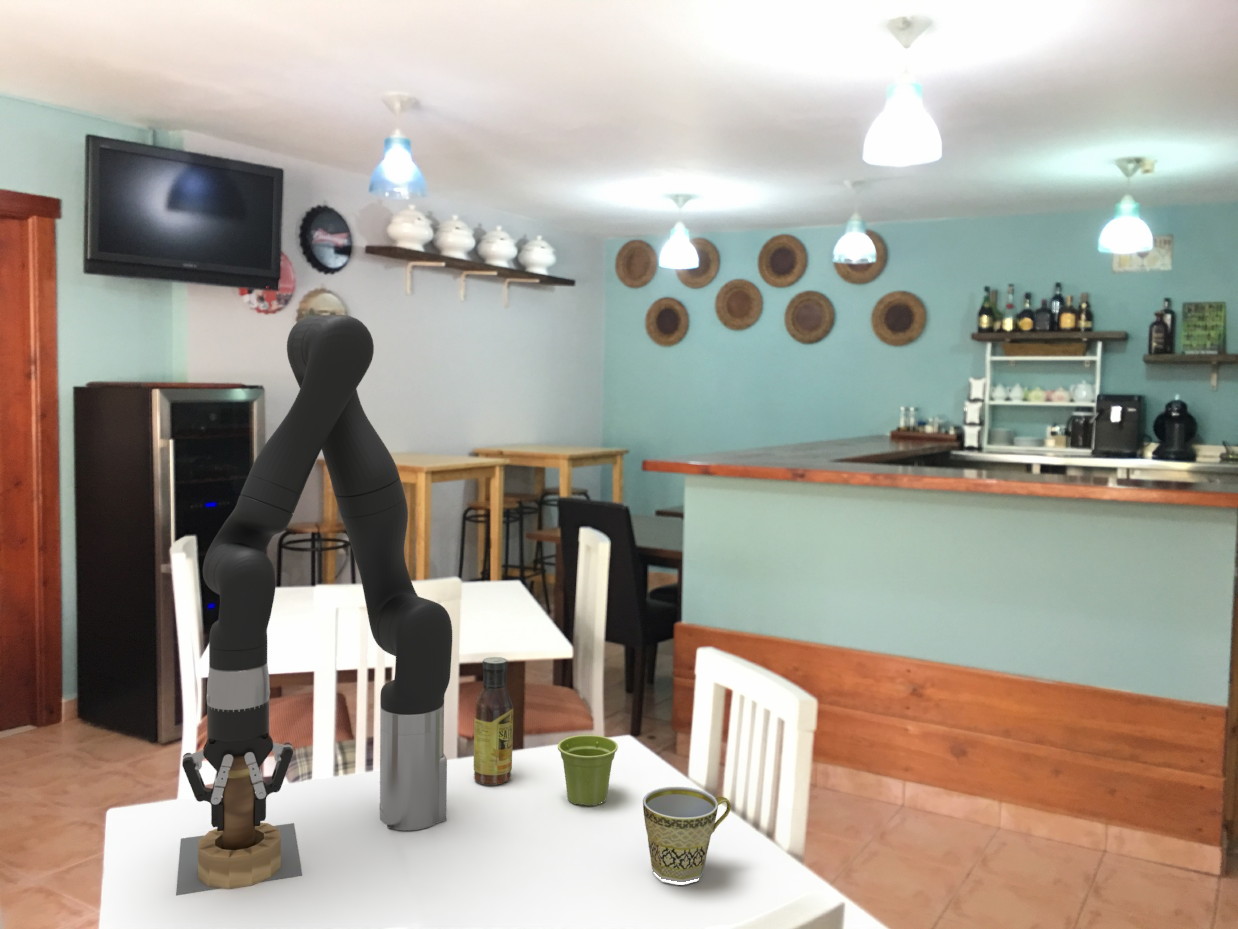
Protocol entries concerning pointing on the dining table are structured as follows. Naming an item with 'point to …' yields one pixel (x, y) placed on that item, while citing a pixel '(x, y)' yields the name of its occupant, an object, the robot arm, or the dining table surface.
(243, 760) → the banded wooden cylinder
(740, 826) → the dining table surface
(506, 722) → the sauce bottle
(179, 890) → the mat
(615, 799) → the dining table surface
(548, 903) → the dining table surface
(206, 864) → the tan faceted ring
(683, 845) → the ceramic cup
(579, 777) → the plant pot
